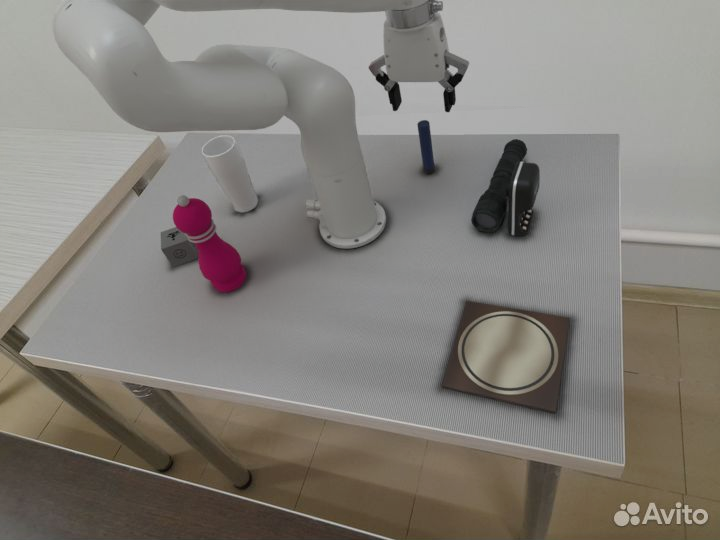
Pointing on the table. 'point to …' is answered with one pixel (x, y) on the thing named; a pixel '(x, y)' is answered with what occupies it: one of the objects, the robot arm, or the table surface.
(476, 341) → the brown square board
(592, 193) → the table surface
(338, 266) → the table surface
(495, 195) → the flashlight
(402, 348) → the table surface
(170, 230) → the grey toy cube
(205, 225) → the pepper mill
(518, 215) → the battery charger
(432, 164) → the cylinder
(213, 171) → the drinking glass
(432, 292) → the table surface
